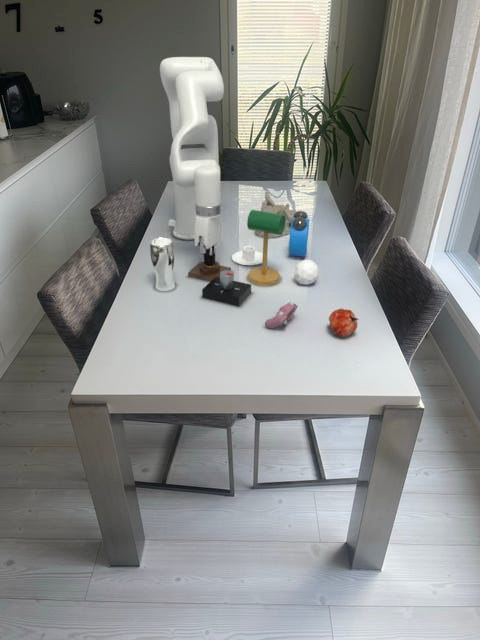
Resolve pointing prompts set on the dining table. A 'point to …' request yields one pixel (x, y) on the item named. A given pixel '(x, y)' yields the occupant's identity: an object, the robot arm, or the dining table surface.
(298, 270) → the geometric ball
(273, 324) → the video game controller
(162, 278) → the beer glass
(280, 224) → the desk lamp
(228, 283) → the dimmer knob
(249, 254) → the candle holder
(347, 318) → the pomegranate
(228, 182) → the dining table surface
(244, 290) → the dimmer panel
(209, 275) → the switch block
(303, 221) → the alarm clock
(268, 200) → the ceramic cottage
